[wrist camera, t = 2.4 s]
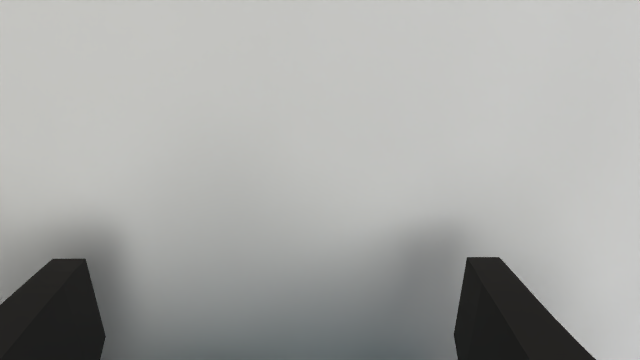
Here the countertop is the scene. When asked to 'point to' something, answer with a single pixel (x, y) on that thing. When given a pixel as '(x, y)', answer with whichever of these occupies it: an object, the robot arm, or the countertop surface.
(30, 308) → the robot arm
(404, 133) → the countertop surface
